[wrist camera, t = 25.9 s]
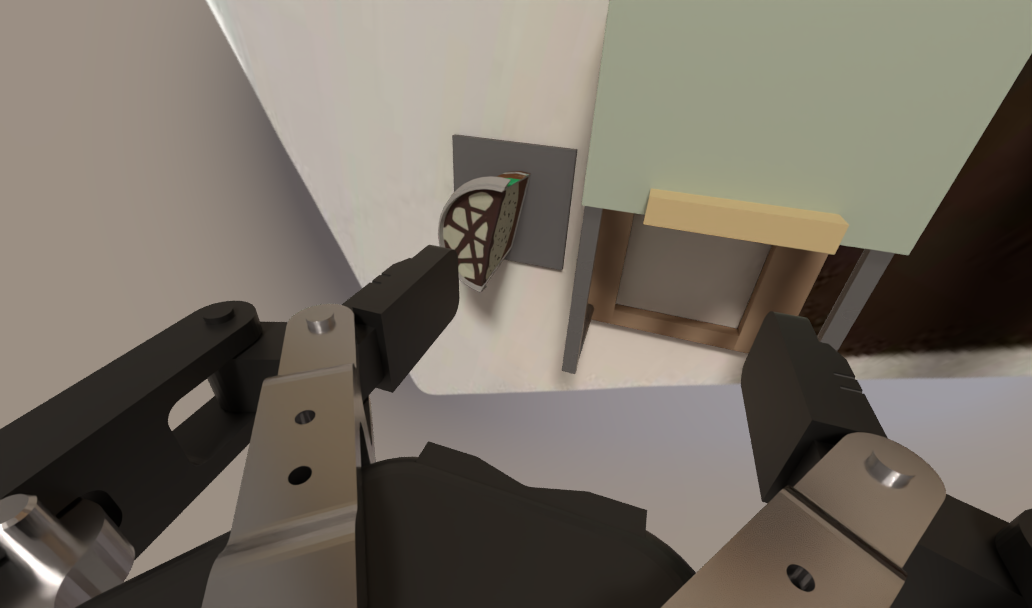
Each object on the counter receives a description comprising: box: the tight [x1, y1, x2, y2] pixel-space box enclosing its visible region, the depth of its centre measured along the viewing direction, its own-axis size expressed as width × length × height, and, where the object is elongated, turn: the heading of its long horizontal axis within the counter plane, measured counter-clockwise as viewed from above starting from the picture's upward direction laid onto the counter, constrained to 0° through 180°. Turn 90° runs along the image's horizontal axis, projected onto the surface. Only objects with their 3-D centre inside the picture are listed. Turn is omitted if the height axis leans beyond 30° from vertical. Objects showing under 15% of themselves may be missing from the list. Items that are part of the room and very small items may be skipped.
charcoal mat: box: [452, 135, 577, 270], centre depth 49 cm, size 14×14×1 cm
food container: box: [438, 171, 531, 292], centre depth 45 cm, size 12×6×10 cm, turn 166°
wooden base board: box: [588, 209, 828, 353], centre depth 40 cm, size 23×40×2 cm, turn 177°
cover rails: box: [562, 206, 895, 374], centre depth 35 cm, size 21×39×11 cm, turn 177°
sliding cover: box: [582, 0, 1032, 255], centre depth 25 cm, size 22×17×3 cm
